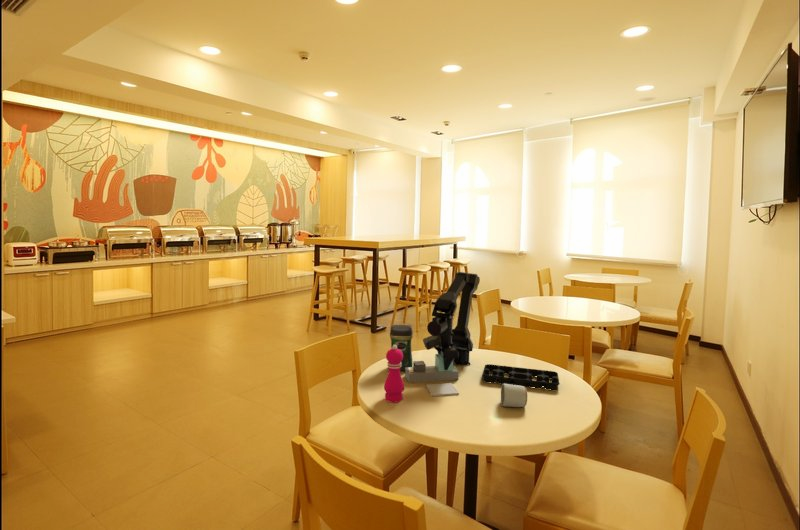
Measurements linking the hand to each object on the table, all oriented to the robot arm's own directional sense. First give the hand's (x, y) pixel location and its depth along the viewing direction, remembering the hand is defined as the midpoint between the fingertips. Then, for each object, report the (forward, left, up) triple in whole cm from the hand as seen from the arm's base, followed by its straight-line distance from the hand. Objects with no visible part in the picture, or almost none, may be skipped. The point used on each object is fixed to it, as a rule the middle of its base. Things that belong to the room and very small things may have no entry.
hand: (443, 367), depth 183 cm
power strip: (+5, 0, -4) cm, 6 cm away
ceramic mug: (-17, +27, -4) cm, 32 cm away
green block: (0, 0, -2) cm, 2 cm away
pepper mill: (+23, +16, -4) cm, 28 cm away
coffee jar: (+15, -12, -4) cm, 20 cm away
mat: (+4, +12, -4) cm, 13 cm away
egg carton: (-29, +8, -5) cm, 30 cm away
